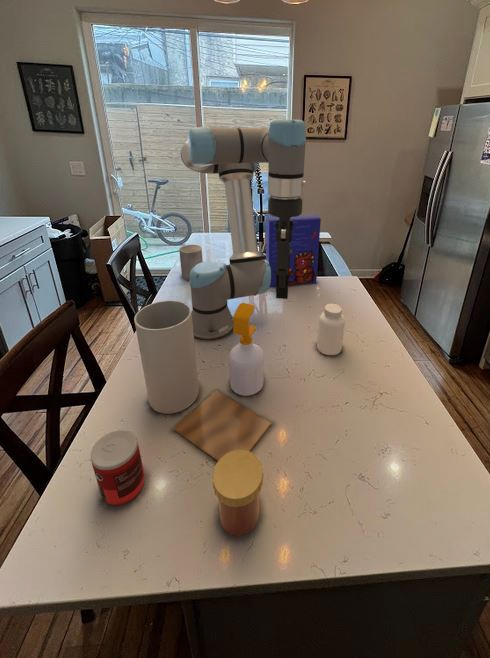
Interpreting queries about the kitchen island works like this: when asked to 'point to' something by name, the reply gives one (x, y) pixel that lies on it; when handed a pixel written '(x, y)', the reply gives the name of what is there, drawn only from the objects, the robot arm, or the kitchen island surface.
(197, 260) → the pillar candle
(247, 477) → the jar lid
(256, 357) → the spray bottle
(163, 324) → the cylinder vase
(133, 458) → the canned food
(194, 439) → the wooden board
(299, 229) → the cereal box
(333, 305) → the pill bottle
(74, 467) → the kitchen island surface
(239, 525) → the jam jar
